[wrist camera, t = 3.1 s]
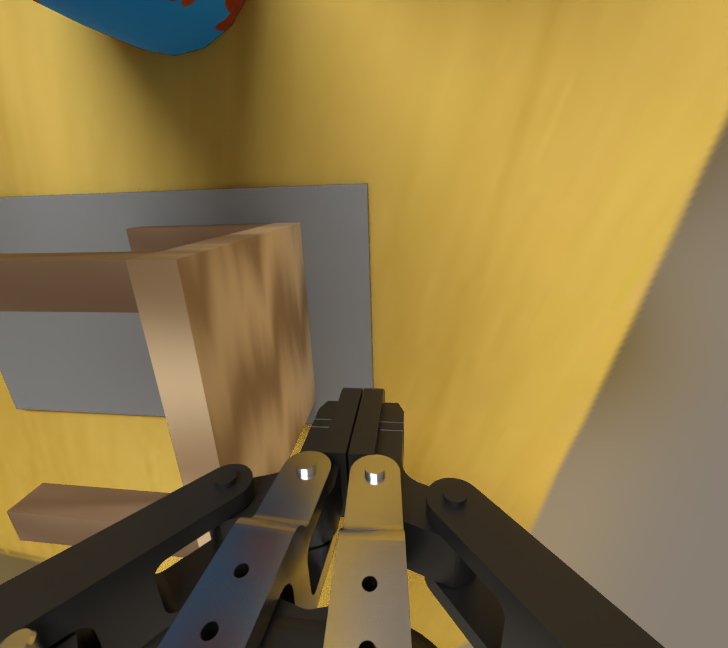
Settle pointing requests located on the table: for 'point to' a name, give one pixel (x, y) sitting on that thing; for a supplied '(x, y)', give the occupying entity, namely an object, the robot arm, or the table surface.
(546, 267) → the table surface
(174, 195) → the mat
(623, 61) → the table surface
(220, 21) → the thermos
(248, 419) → the stool
